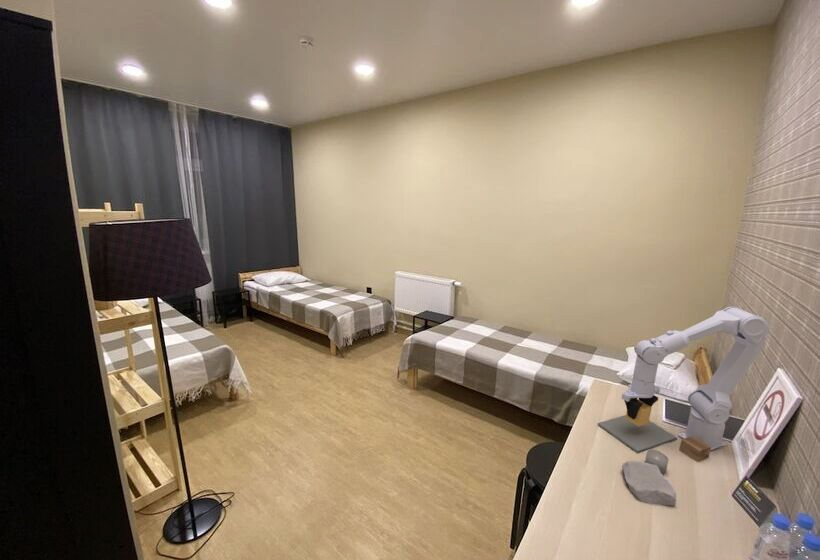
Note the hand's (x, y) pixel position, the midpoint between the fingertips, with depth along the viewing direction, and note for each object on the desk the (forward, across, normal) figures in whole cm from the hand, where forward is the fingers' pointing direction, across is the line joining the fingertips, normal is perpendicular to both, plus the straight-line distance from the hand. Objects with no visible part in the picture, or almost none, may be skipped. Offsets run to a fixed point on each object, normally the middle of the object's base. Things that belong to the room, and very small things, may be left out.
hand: (636, 415), depth 109 cm
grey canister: (+6, +8, +13) cm, 17 cm away
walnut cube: (+6, -8, +13) cm, 17 cm away
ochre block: (+2, 0, 0) cm, 2 cm away
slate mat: (+6, -1, 0) cm, 6 cm away
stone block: (+7, +18, +16) cm, 25 cm away
